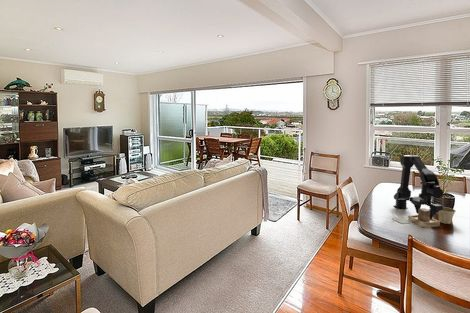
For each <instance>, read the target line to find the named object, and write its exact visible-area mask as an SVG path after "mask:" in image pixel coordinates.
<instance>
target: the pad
mask: <svg viewBox="0 0 470 313" xmlns="http://www.w3.org/2000/svg"><path fill="white" fill-rule="evenodd" d="M392 220H394V221H395V222H398V223H400V224H401V225H405V224H406V225H407V224H414V223H413V222H411V221H409V220H408V218H405V217H394V218H392Z"/></svg>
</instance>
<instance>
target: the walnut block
mask: <svg viewBox="0 0 470 313" xmlns="http://www.w3.org/2000/svg"><path fill="white" fill-rule="evenodd" d="M417 215H418V220H421V221H423V222H427V221H430V210H429V209H427V208H425V207H424V208H420V209H419V211H418V214H417Z"/></svg>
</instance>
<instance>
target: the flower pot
mask: <svg viewBox="0 0 470 313" xmlns="http://www.w3.org/2000/svg"><path fill="white" fill-rule="evenodd" d="M455 213H456V209H454V208H451V207H447V206H446V207H445V206H443V210H441V211H438V212H437V214H438V221H440V224H441V223H442V224H445V225H446V224H448V225H450V224H452V221H453V217H454V215H455Z"/></svg>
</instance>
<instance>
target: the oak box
mask: <svg viewBox="0 0 470 313" xmlns="http://www.w3.org/2000/svg"><path fill="white" fill-rule="evenodd" d="M407 220H409V221H411V222H413V223H412V224H416V225H417V226H419V227H422V228H424V229H425V228H426V229H427V228H434V227H440V224H441V222H440V221H439V220H437V219H435V218H434V217H433V218H432V219H430V221H427V222H423V221H421V220H418V214H414V215H408V218H407Z"/></svg>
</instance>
